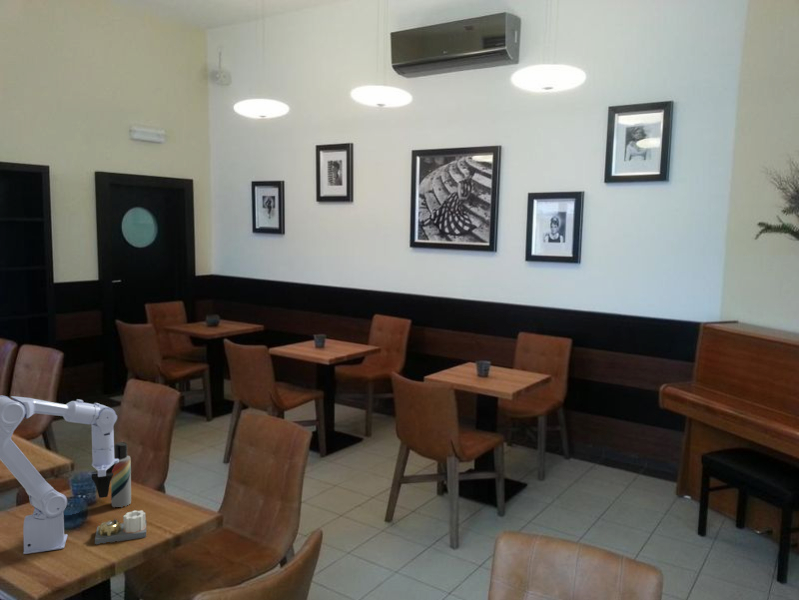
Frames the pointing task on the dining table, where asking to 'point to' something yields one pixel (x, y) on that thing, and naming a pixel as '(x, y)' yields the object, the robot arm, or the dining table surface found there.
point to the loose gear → (134, 521)
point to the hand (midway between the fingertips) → (104, 491)
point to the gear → (109, 528)
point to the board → (120, 535)
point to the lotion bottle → (121, 477)
